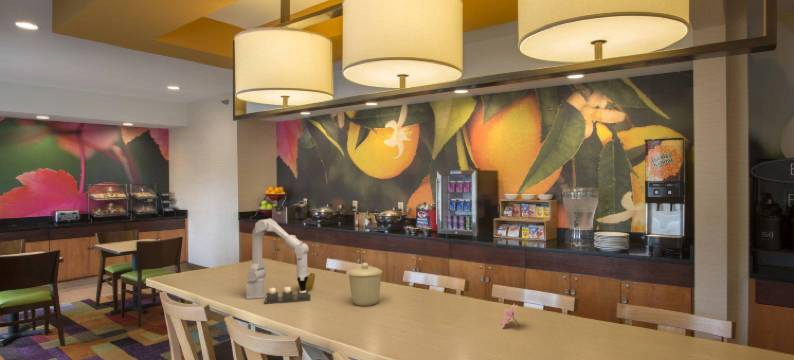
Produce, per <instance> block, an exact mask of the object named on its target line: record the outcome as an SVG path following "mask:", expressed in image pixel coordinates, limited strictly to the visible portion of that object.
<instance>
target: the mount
mask: <svg viewBox="0 0 794 360" xmlns="http://www.w3.org/2000/svg"><path fill="white" fill-rule="evenodd" d="M299 291H300V290H297V295H294V291H293V290H291V293H290V294H284V291H282V293H281V295H280V296H279V292H278V291H276V295H269V292H267V293H266V296H265V297H264V298H265V299H264V300H263V301H264V302H263V305H272V304H273V305H274V304H284V303H285V304H287V303H299V302H300V303H301V302H311V301H312V299H311V294H310V293H309V291H308V290H306V292H305V293H299Z"/></svg>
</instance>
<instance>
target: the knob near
mask: <svg viewBox="0 0 794 360" xmlns="http://www.w3.org/2000/svg"><path fill="white" fill-rule="evenodd" d="M276 289H277V288H276V286H275V287H268V293H269V295H276V292H277V290H276Z"/></svg>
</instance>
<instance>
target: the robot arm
mask: <svg viewBox="0 0 794 360" xmlns="http://www.w3.org/2000/svg"><path fill="white" fill-rule="evenodd" d="M267 232H273V233H275V234H276V235H278V236H279V237H281V238H282V239H283V240H284V241H285V242H284V243H285V244H286V245H287V246H289V248H291V249H292V250H293V252H294V254H295V256H296V257H295V258H296V280H297V283H298V282H299V284H298V286H299V285H300V287H299V289H300V290H301V291H305V287H306V282H307V280H308V277H306V276H308V275H310V273H311V272H309V271H308V267H309V266H308V252H309V250H310V249H309V246H308V245H309V244H307V243H305V242H303V241H301V240H299V239H298V238H297V235H293V234H289V233H288V232H286V230H285V229H283V228H282V227H281V225H279V224H278V222H277V221H275V220H274V219H273V218H271V217H269V218H266V219H265V218H264V219H260V220H258V221H257V222H255V226H254V228H253V229H252V233H251V234H252V235H251V238H252V239H251V242H252V245H251V247H252V248H251V249H252V250H251V251H252V252H251V257H252V258H251V265H250V267H249V268H248V272H247V279H248V280H249V281H246V284H245V286H246V290H245V291H246V292H245V293H246V295H245V296H246V297H245V299H246V300H249V299H264V298H266V293H265V277H266V275H267V272H266V271H267V270H266V268H265V267H266V266H265V264H264V263H263V238H264V237H263V236H264V235H265V234H266V233H267ZM297 277H299V278H297ZM300 290H299V291H300Z"/></svg>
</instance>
